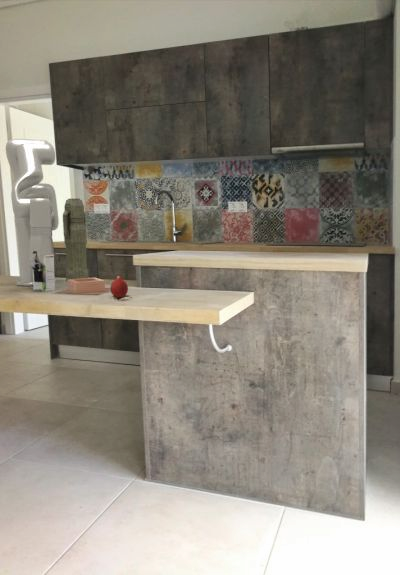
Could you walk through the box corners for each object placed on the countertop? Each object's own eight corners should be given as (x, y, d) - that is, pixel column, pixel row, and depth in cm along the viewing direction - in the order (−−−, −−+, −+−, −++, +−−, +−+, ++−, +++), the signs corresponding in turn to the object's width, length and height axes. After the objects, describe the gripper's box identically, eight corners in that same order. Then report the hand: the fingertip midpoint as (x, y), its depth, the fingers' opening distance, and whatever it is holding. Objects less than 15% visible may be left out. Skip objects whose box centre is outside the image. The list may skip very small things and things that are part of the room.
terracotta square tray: (67, 290, 196) (67, 279, 195) (95, 288, 201) (94, 277, 201) (76, 293, 187) (75, 282, 186) (105, 291, 192) (104, 280, 192)
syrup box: (33, 293, 197) (31, 254, 195) (44, 291, 203) (42, 253, 201) (44, 294, 195) (42, 254, 193) (56, 292, 200) (54, 253, 198)
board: (75, 290, 205) (75, 287, 205) (119, 291, 201) (119, 288, 200) (51, 297, 188) (51, 293, 188) (98, 298, 183) (97, 295, 183)
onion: (120, 297, 185) (119, 274, 184) (131, 299, 182) (131, 275, 181) (107, 299, 181) (106, 276, 180) (118, 301, 177) (118, 277, 176)
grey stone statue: (59, 288, 211) (55, 198, 206) (76, 284, 222) (72, 199, 217) (78, 289, 208) (74, 198, 203) (94, 285, 219) (91, 198, 214)
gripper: (45, 231, 205) (47, 277, 207) (18, 233, 188) (21, 283, 191) (62, 231, 203) (64, 278, 205) (37, 233, 186) (40, 283, 189)
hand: (44, 280), depth 198 cm, fingers closed on syrup box, 6 cm apart
